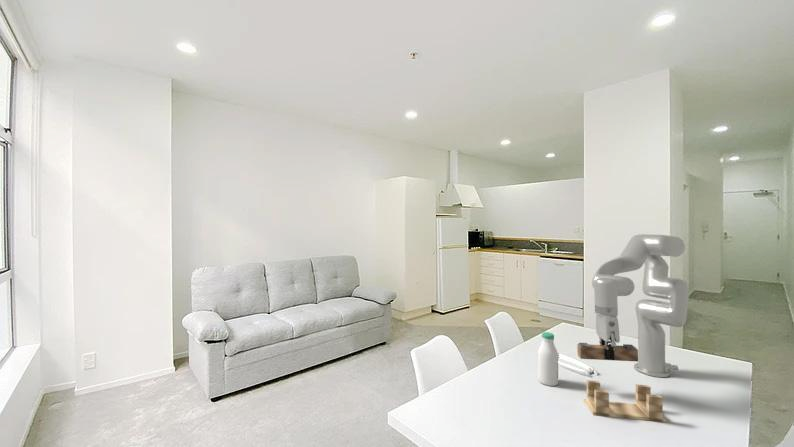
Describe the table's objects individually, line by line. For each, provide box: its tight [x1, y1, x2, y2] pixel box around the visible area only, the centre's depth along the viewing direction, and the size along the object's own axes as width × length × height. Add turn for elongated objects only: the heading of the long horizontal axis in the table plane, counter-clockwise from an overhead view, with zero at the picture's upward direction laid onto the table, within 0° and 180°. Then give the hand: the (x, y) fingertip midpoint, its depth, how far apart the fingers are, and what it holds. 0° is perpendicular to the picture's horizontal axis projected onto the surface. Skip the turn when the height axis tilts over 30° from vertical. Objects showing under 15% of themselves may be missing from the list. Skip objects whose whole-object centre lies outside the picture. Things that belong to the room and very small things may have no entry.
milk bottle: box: [537, 331, 559, 387], centre depth 136 cm, size 8×8×20 cm
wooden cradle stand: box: [583, 379, 667, 423], centre depth 115 cm, size 22×8×8 cm, turn 79°
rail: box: [576, 342, 638, 363], centre depth 128 cm, size 20×4×5 cm, turn 79°
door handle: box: [557, 352, 599, 378], centre depth 153 cm, size 3×10×25 cm
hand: (607, 356), depth 128 cm, fingers closed on rail, 3 cm apart
